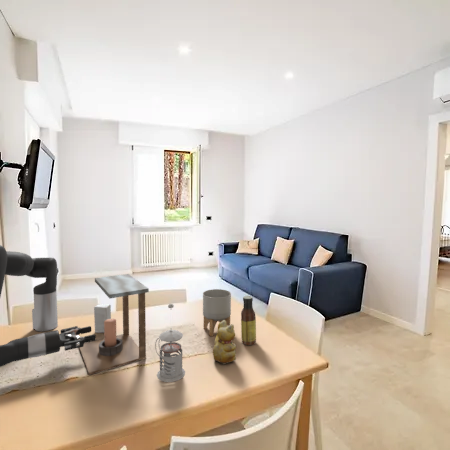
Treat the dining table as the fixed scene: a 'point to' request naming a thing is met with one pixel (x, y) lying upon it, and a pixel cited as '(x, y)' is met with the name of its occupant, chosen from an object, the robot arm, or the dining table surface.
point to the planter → (216, 308)
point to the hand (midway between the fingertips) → (93, 332)
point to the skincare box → (101, 316)
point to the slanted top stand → (126, 347)
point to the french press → (170, 356)
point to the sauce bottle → (248, 322)
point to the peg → (110, 332)
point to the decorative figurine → (224, 343)
